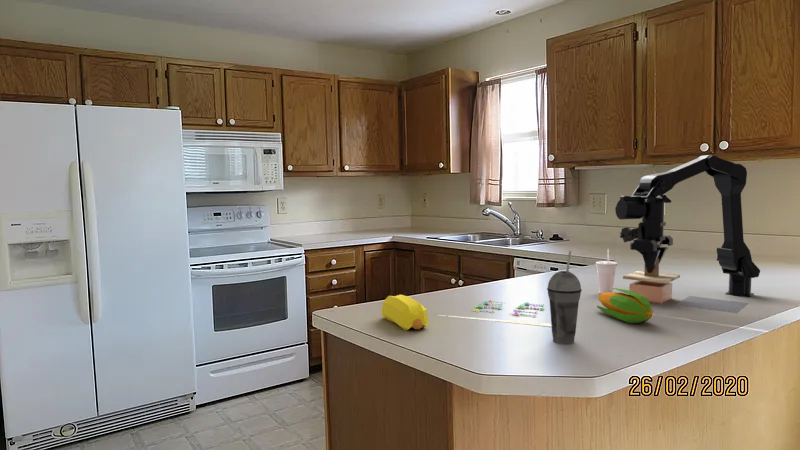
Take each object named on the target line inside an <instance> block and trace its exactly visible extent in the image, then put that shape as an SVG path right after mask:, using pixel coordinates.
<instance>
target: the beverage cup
mask: <svg viewBox="0 0 800 450" xmlns="http://www.w3.org/2000/svg"><path fill="white" fill-rule="evenodd" d="M567 256H568V257H567V263H566V270H561V271H557V272H555V273H554V274H553V275H552V276H551V277H550V278H549V281H548V284H547V288H546V290H547V295H548V299H549V309H550V322H551V326H552V327H551V335H552V342H554V343H556V344H560V345H573V344H574V343H575V338H576V332H577V331H576V330H577V322H578V311H579V302H580V299H581V295H582V291H583V290H582V286H581V282H580V279H579V278H578V276H576V274H575V273H572V272H570V271H569V270H570V263H571V256H572V251H571V250H569V251H568V255H567Z"/></svg>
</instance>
